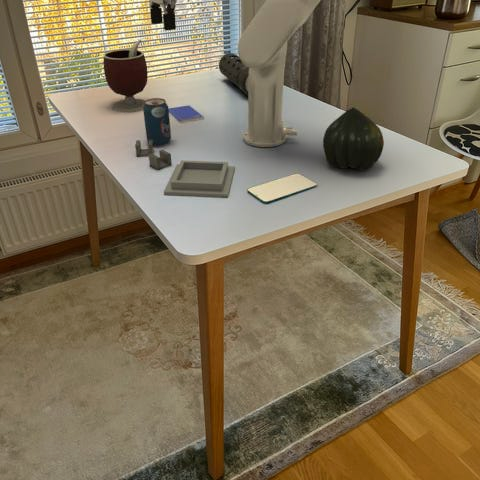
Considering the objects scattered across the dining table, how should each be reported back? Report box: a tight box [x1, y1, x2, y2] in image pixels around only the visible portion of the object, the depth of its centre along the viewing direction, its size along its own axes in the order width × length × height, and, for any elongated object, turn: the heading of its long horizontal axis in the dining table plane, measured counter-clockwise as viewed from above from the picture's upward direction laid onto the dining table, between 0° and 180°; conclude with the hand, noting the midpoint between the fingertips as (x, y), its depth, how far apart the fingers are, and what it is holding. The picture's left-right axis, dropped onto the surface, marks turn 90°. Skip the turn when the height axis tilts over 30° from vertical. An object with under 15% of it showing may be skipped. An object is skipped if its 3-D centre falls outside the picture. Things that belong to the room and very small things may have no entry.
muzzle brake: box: [218, 52, 249, 96], centre depth 178 cm, size 10×28×10 cm, turn 21°
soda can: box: [142, 97, 172, 147], centre depth 135 cm, size 7×7×12 cm
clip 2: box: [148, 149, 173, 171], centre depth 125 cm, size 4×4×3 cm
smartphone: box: [246, 173, 318, 205], centre depth 115 cm, size 8×1×16 cm
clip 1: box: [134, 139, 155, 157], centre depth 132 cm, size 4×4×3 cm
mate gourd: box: [102, 39, 149, 113], centre depth 160 cm, size 16×14×20 cm
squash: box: [322, 106, 385, 171], centre depth 123 cm, size 14×15×15 cm
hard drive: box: [168, 104, 205, 124], centre depth 157 cm, size 2×8×12 cm
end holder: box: [163, 160, 236, 198], centre depth 118 cm, size 15×15×3 cm
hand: (163, 26), depth 133 cm, fingers open, 9 cm apart
